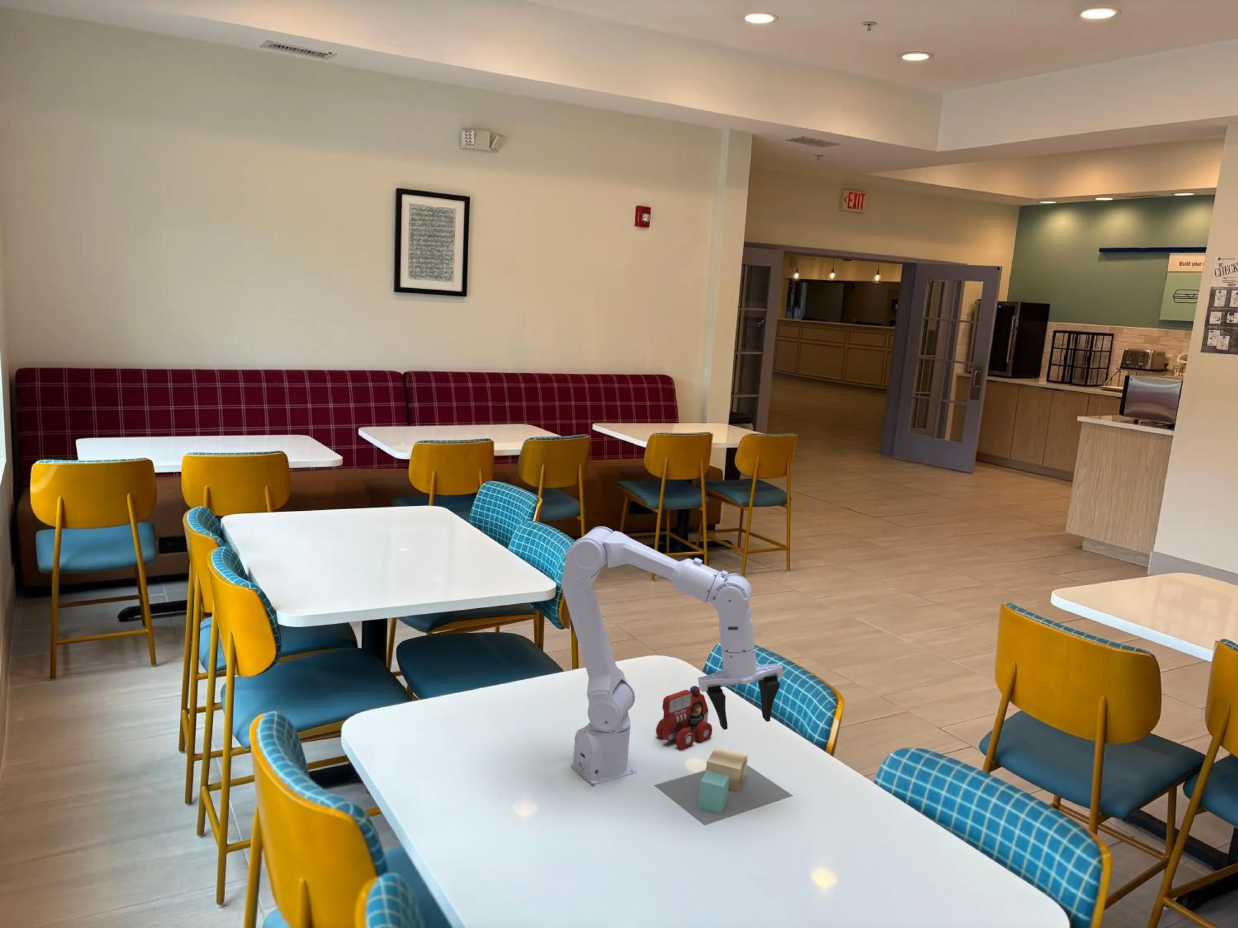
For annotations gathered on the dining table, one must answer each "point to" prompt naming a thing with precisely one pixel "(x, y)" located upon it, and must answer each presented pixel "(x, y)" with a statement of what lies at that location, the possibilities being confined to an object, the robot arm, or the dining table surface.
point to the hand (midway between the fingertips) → (745, 723)
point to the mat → (746, 798)
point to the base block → (728, 765)
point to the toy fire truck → (685, 718)
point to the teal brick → (713, 792)
